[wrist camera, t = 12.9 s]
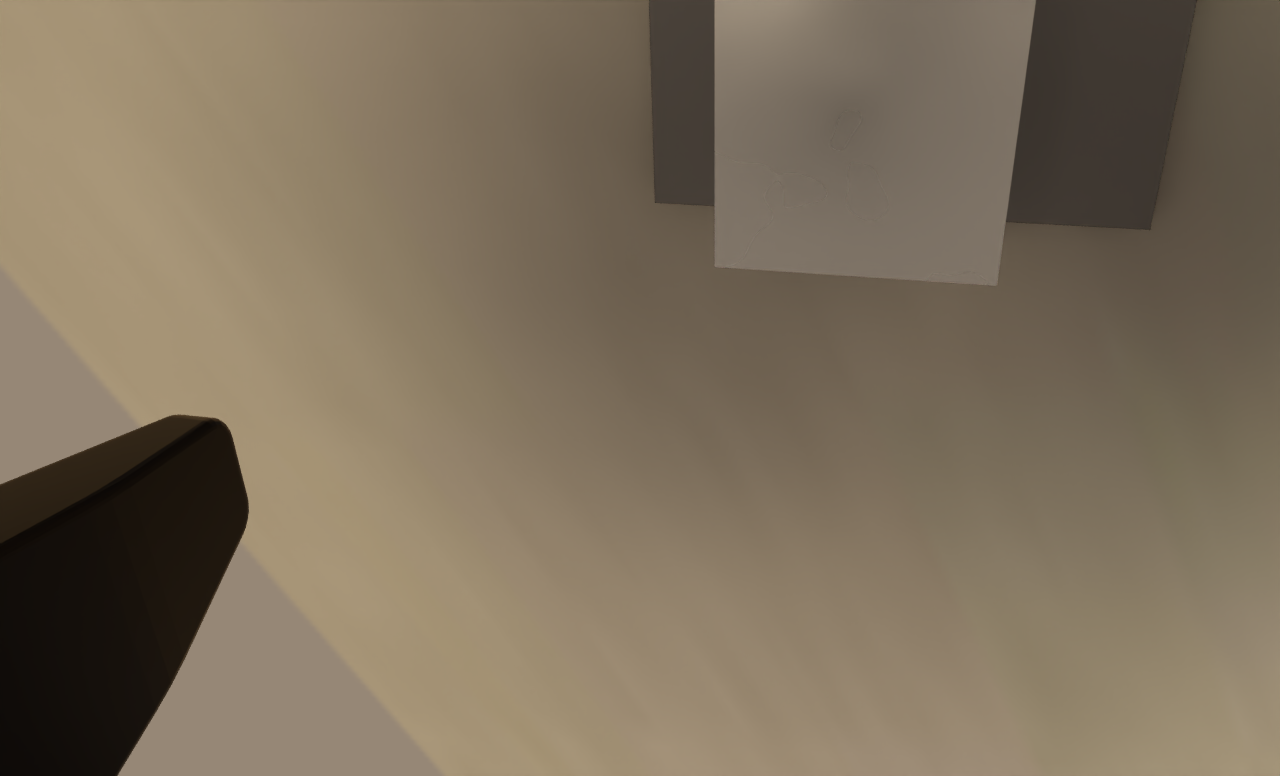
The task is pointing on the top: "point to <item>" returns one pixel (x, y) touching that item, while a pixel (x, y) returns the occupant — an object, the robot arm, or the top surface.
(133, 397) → the top surface
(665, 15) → the rubber pad
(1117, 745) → the top surface
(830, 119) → the lever cap
